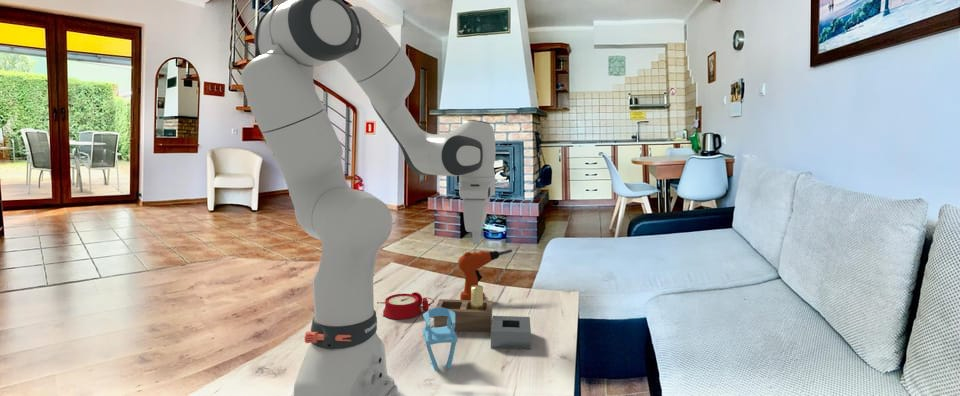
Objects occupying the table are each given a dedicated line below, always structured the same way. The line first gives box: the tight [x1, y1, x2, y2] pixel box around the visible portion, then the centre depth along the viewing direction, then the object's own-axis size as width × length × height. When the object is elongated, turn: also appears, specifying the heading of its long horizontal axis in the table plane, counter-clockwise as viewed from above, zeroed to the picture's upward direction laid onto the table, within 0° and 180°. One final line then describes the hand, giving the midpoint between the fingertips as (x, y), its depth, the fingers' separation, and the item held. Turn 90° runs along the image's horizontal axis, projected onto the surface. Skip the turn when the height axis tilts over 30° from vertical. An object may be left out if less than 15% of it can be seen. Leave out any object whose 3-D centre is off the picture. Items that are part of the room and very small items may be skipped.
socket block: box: [490, 315, 532, 351], centre depth 106 cm, size 9×9×5 cm
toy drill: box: [457, 248, 513, 300], centre depth 137 cm, size 5×19×15 cm, turn 115°
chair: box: [422, 306, 458, 371], centre depth 95 cm, size 8×8×12 cm
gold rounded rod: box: [471, 284, 484, 310], centre depth 114 cm, size 3×3×10 cm
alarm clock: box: [376, 291, 435, 320], centre depth 126 cm, size 10×6×15 cm
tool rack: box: [433, 298, 493, 333], centre depth 114 cm, size 8×14×6 cm, turn 85°
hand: (476, 243), depth 112 cm, fingers closed
